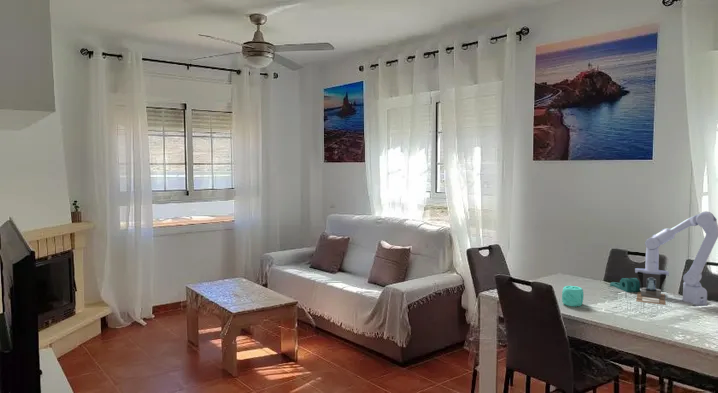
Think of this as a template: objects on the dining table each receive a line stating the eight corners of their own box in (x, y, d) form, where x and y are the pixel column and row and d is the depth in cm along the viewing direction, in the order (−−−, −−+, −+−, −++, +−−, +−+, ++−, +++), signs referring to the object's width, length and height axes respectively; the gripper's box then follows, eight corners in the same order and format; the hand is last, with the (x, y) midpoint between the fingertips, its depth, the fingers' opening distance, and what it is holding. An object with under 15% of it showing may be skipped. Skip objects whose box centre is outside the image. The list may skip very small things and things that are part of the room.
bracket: (639, 294, 261) (640, 279, 260) (627, 295, 260) (627, 279, 260) (619, 286, 279) (619, 272, 278) (607, 286, 278) (607, 272, 278)
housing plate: (637, 293, 262) (637, 286, 262) (664, 296, 256) (664, 289, 256) (636, 303, 243) (636, 296, 243) (665, 306, 237) (665, 299, 237)
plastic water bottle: (657, 295, 253) (658, 278, 253) (650, 296, 252) (651, 278, 252) (651, 293, 257) (651, 276, 256) (644, 294, 256) (645, 276, 255)
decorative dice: (579, 307, 237) (580, 290, 236) (561, 304, 241) (562, 288, 241) (583, 303, 243) (583, 287, 243) (565, 301, 248) (566, 284, 247)
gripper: (668, 261, 253) (667, 288, 254) (635, 258, 260) (634, 284, 261) (669, 263, 247) (668, 291, 248) (635, 260, 254) (634, 287, 255)
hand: (651, 288), depth 254 cm, fingers open, 7 cm apart
